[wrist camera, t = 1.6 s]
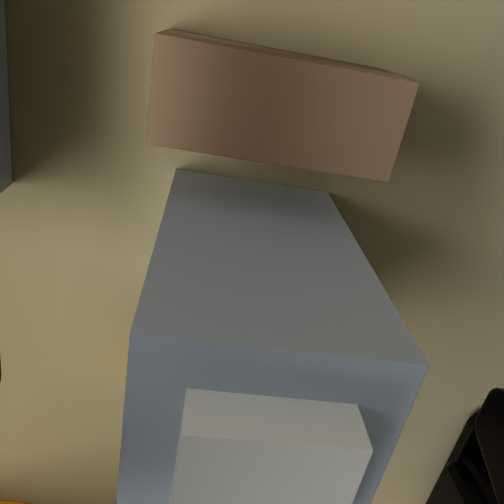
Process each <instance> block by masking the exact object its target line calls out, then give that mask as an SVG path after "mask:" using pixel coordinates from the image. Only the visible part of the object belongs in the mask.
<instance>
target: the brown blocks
mask: <svg viewBox="0 0 504 504" xmlns="http://www.w3.org/2000/svg"><path fill="white" fill-rule="evenodd" d="M419 84H420V83H418V82H416V81H413V80H410V79H408V78H405V77H402V76H399V75H397V74H394V73H391V72H388V71H386V70H383V69H379V68H374V67H369V66H363V65H358V64H353V63H348V62H342V61H337V60H332V59H326V58H321V57H316V56H311V55H305V54H300V53H295V52H289V51H284V50H279V49H274V48H268V47H263V46H258V45H252V44H247V43H242V42H237V41H231V40H226V39H221V38H215V37H210V36H205V35H200V34H194V33H189V32H184V31H178V30H173V29H166V30H163V31H160V32H158V33H155V40H154V53H153V65H152V77H151V90H150V102H149V115H148V127H147V139H146V144H149V145H155V146H161V147H168V148H174V149H180V150H187V151H193V152H199V153H206V154H212V155H218V156H225V157H231V158H237V159H244V160H250V161H256V162H263V163H269V164H275V165H282V166H288V167H295V168H301V169H307V170H314V171H320V172H326V173H333V174H339V175H345V176H352V177H358V178H364V179H371V180H377V181H383V182H389V179H390V176H391V173H392V170H393V167H394V163H395V160H396V157H397V154H398V151H399V147H400V144H401V141H402V138H403V135H404V132H405V128H406V125H407V122H408V119H409V116H410V112H411V109H412V106H413V103H414V100H415V96H416V93H417V90H418V87H419Z"/></svg>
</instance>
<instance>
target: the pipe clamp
mask: <svg viewBox="0 0 504 504" xmlns="http://www.w3.org/2000/svg"><path fill="white" fill-rule="evenodd" d="M0 504H30V503H19V502H8V501H0Z"/></svg>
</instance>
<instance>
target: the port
mask: <svg viewBox="0 0 504 504" xmlns="http://www.w3.org/2000/svg"><path fill="white" fill-rule="evenodd" d="M11 184H12V162H11V139H10V115H9V92H8V68H7V45H6V21H5V0H0V193H1V192H2V191H4V190H5V189H6V188H7V187H8V186H10V185H11Z"/></svg>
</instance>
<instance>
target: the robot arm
mask: <svg viewBox="0 0 504 504" xmlns="http://www.w3.org/2000/svg"><path fill="white" fill-rule="evenodd" d="M0 381H1V360H0ZM426 504H504V389H503V388H494V389H492V390H491V391H490V392H489V394H488V395H487V397H486V399H485V401H484V403H483V405H482V407H481V409H480V411H479V413H477V414H474V415H473V416H471V417H470V418H469V420H468V421H467V423H466V425H465V427H464V429H463V431H462V433H461V435H460V437H459V439H458V441H457V443H456V445H455V447H454V449H453V451H452V453H451V455H450V457H449V459H448V461H447V463H446V465H445V467H444V469H443V471H442V473H441V475H440V477H439V479H438V481H437V483H436V485H435V487H434V489H433V491H432V493H431V495H430V497H429V499H428V501H427V503H426Z"/></svg>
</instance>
